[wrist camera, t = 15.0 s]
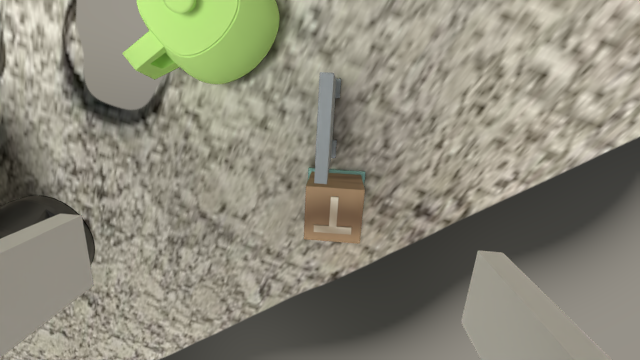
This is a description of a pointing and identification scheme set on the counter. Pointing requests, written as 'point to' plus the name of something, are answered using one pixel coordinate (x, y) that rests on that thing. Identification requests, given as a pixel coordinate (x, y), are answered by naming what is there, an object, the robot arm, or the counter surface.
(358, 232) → the cube
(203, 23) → the teapot
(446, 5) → the counter surface
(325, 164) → the screen
